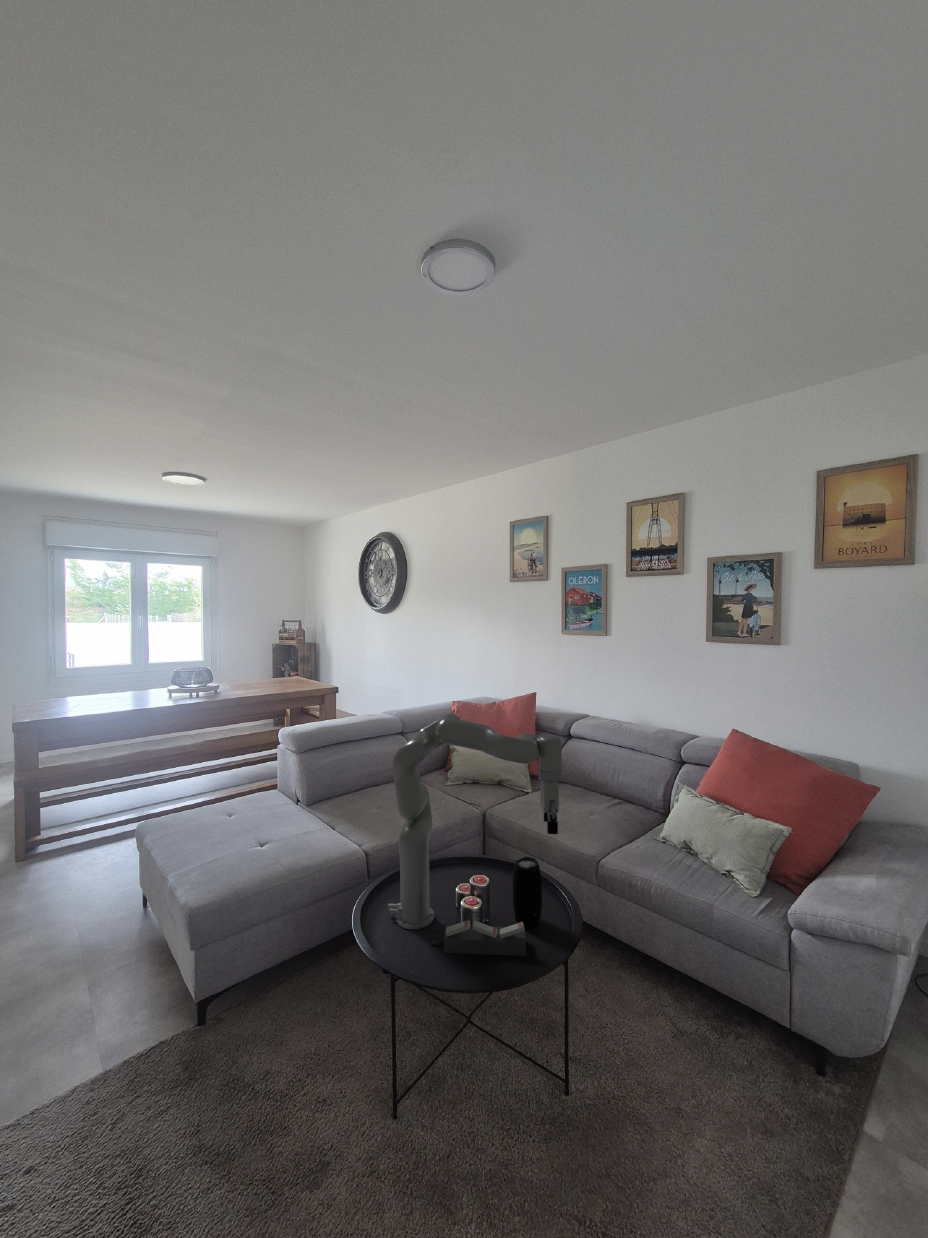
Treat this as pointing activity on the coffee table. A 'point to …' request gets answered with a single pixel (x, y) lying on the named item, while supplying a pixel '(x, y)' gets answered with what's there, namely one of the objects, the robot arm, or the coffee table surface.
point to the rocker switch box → (483, 943)
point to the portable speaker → (527, 891)
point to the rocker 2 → (485, 929)
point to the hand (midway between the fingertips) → (550, 827)
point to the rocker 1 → (458, 928)
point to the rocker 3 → (512, 930)
